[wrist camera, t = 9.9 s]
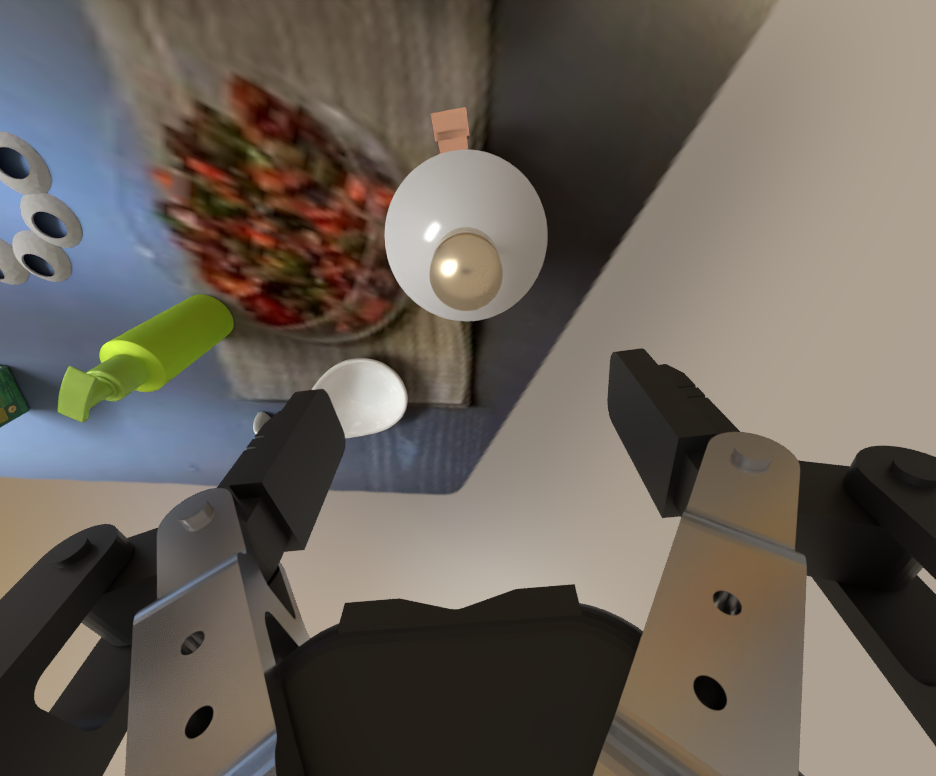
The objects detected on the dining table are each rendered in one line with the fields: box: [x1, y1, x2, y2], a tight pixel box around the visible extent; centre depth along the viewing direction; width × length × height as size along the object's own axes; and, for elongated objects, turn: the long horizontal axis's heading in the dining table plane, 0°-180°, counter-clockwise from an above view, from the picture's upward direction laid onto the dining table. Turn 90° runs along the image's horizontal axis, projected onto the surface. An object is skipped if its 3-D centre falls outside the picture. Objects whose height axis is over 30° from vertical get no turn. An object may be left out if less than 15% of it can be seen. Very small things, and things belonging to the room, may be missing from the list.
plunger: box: [429, 227, 503, 311], centre depth 24 cm, size 4×4×7 cm
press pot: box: [385, 107, 547, 321], centre depth 33 cm, size 14×12×17 cm
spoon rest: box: [253, 358, 408, 438], centre depth 52 cm, size 24×12×7 cm, turn 114°
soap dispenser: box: [58, 295, 234, 422], centre depth 39 cm, size 6×7×20 cm
